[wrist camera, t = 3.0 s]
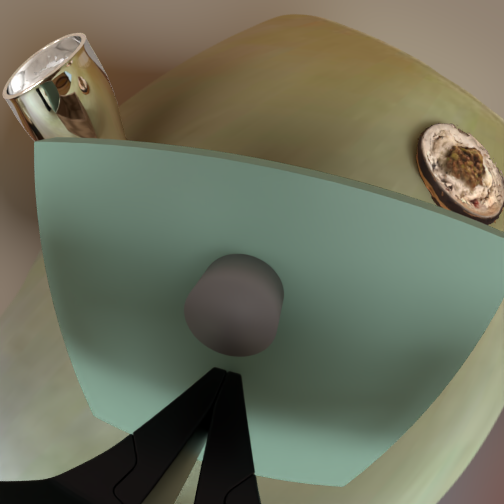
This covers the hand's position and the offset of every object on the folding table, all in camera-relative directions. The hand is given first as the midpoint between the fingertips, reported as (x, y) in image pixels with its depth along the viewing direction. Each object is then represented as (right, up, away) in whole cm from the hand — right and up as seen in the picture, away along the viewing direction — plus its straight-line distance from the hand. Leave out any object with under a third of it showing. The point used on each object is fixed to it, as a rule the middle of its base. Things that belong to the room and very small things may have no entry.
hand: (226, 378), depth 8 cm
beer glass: (-12, +10, +18) cm, 24 cm away
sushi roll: (+23, +12, +18) cm, 32 cm away
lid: (0, 0, +2) cm, 2 cm away
